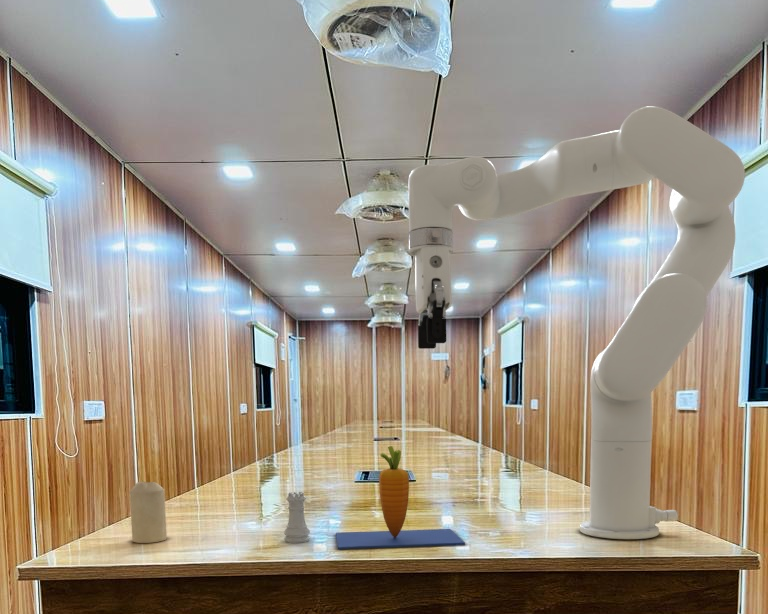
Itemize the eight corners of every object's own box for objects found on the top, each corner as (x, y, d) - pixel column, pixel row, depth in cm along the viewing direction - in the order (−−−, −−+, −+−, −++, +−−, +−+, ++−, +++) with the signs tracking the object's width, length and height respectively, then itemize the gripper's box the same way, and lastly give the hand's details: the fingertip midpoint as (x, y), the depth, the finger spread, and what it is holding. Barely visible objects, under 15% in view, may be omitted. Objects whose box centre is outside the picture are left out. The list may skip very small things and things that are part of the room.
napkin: (450, 531, 115) (450, 528, 115) (465, 545, 103) (465, 542, 103) (336, 534, 113) (335, 532, 113) (337, 549, 102) (337, 547, 101)
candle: (173, 538, 113) (170, 480, 112) (150, 544, 108) (146, 483, 107) (149, 536, 115) (146, 479, 114) (125, 542, 110) (121, 482, 109)
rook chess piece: (316, 540, 109) (315, 492, 108) (295, 544, 106) (293, 495, 105) (299, 537, 112) (297, 490, 111) (278, 541, 109) (276, 493, 108)
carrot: (407, 540, 105) (406, 447, 104) (376, 540, 106) (375, 447, 105) (412, 534, 110) (411, 445, 109) (383, 534, 111) (381, 445, 110)
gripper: (463, 231, 104) (463, 340, 106) (443, 256, 122) (443, 350, 123) (416, 230, 104) (417, 341, 106) (402, 255, 121) (403, 350, 123)
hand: (431, 345), depth 114 cm, fingers open, 9 cm apart
